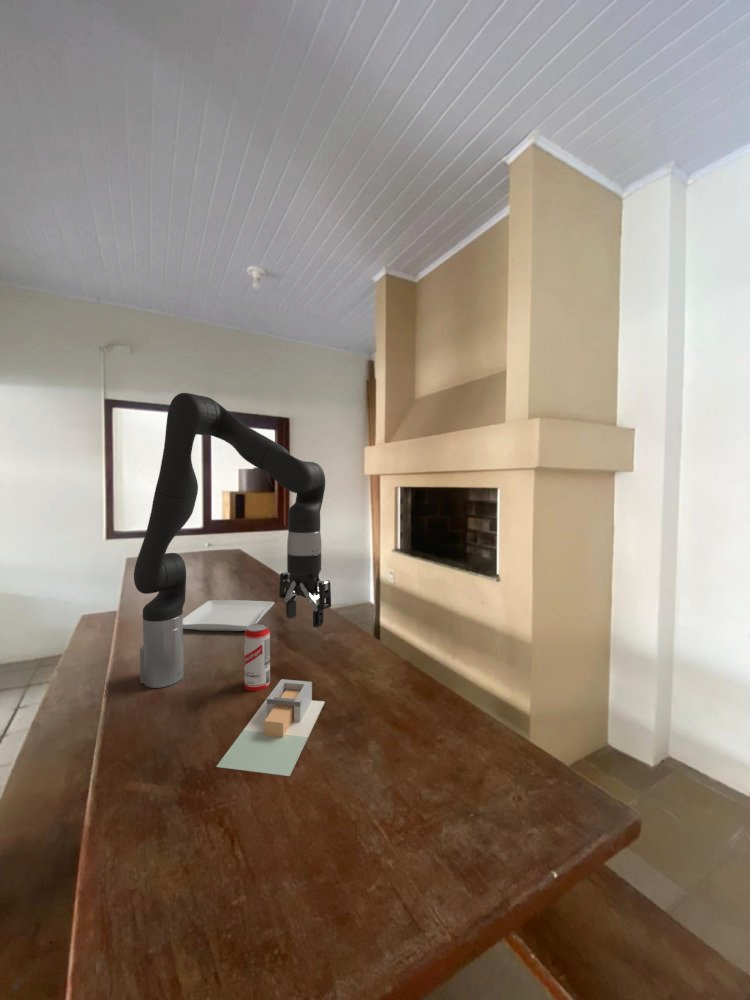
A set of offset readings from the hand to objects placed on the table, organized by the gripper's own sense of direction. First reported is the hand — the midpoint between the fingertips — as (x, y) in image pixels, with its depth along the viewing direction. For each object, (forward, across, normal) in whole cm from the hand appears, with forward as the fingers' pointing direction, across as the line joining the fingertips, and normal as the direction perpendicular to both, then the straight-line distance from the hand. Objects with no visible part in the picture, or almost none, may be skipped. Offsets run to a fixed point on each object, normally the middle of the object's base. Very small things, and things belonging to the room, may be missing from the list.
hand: (304, 622), depth 89 cm
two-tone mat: (+21, +1, -8) cm, 23 cm away
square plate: (+22, -65, +23) cm, 72 cm away
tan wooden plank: (+20, -1, -5) cm, 21 cm away
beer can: (+22, -17, 0) cm, 27 cm away
